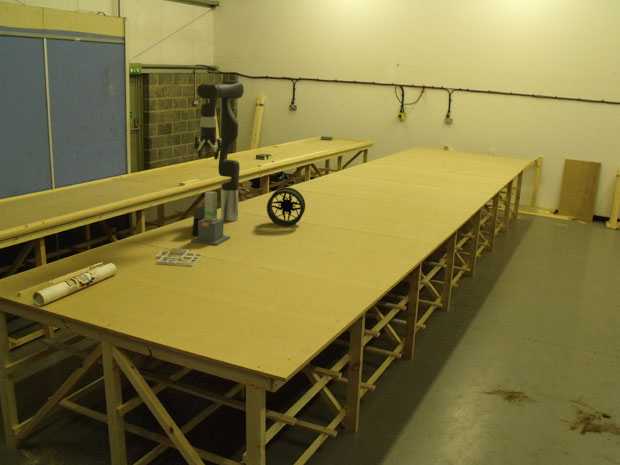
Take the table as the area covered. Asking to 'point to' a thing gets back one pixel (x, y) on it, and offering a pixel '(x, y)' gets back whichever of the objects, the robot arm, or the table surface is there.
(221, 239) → the gray sleeve
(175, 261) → the floor plan model
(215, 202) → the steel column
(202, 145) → the robot arm
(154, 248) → the table surface
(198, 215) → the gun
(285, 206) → the wheel rim
